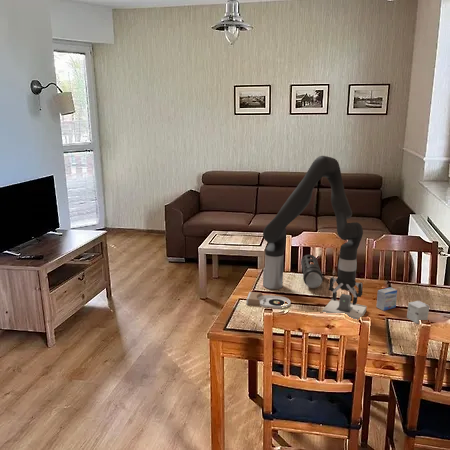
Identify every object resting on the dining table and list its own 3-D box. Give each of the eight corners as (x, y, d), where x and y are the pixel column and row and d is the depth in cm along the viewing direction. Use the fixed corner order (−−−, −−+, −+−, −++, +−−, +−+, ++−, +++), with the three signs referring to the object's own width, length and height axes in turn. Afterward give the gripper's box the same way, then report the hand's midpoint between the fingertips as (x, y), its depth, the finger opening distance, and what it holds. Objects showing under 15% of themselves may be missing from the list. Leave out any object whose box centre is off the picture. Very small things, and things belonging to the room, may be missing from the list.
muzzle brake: (317, 271, 251) (318, 254, 248) (322, 291, 224) (324, 271, 221) (300, 271, 252) (300, 253, 249) (303, 290, 225) (304, 271, 222)
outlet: (321, 314, 198) (322, 310, 197) (331, 303, 210) (331, 298, 209) (358, 323, 190) (359, 318, 190) (366, 310, 202) (366, 306, 202)
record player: (250, 290, 218) (291, 294, 214) (250, 296, 219) (291, 300, 215) (246, 300, 207) (289, 304, 203) (245, 306, 208) (289, 310, 203)
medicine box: (383, 311, 202) (385, 293, 200) (375, 307, 206) (377, 289, 203) (396, 307, 205) (397, 290, 203) (388, 304, 209) (390, 286, 207)
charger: (338, 313, 199) (339, 296, 197) (341, 310, 203) (342, 293, 201) (347, 315, 197) (348, 298, 195) (349, 312, 201) (351, 295, 199)
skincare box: (406, 318, 195) (408, 302, 193) (416, 315, 198) (418, 300, 196) (417, 323, 190) (419, 307, 188) (427, 321, 192) (429, 305, 190)
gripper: (328, 267, 195) (326, 301, 199) (361, 273, 188) (358, 309, 192) (333, 262, 201) (331, 295, 205) (366, 268, 194) (362, 302, 198)
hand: (344, 302), depth 199 cm, fingers open, 8 cm apart
